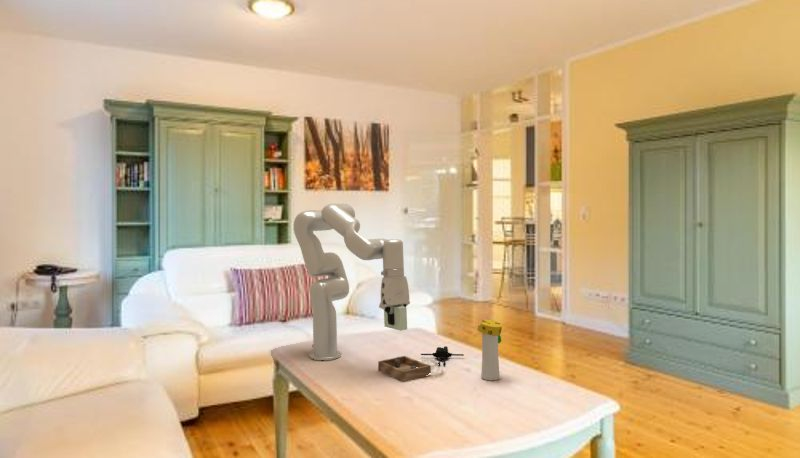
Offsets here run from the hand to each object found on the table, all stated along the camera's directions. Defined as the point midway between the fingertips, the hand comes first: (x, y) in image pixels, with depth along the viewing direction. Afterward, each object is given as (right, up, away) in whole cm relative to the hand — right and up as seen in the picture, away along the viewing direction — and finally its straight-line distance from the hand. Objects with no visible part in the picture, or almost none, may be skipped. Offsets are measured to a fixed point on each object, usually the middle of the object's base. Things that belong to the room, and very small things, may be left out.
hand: (395, 323), depth 190 cm
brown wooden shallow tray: (+3, -18, -1) cm, 18 cm away
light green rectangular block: (0, -2, 0) cm, 2 cm away
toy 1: (+18, -18, +14) cm, 29 cm away
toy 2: (+34, -18, -7) cm, 39 cm away
